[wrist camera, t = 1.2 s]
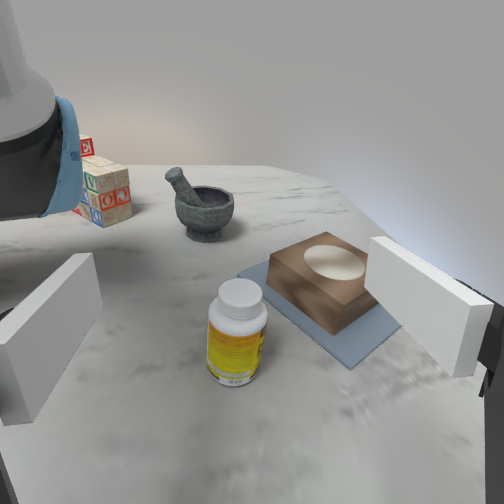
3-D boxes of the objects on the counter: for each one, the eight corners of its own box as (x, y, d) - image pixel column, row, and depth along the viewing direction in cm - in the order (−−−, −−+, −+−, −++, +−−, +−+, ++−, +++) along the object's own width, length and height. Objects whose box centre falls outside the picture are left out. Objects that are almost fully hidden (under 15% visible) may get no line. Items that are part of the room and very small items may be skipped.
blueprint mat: (237, 275, 47) (237, 273, 47) (308, 245, 56) (309, 243, 56) (350, 370, 35) (351, 367, 35) (417, 311, 44) (418, 309, 44)
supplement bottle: (261, 389, 32) (275, 314, 26) (205, 389, 31) (207, 312, 26) (256, 344, 37) (267, 273, 31) (207, 344, 36) (209, 271, 30)
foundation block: (265, 283, 46) (270, 252, 43) (319, 258, 53) (326, 230, 50) (333, 336, 38) (344, 303, 36) (385, 298, 45) (397, 269, 43)
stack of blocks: (133, 217, 59) (126, 149, 52) (103, 229, 54) (91, 157, 48) (66, 183, 68) (53, 122, 61) (35, 191, 64) (17, 126, 57)
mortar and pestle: (220, 218, 62) (224, 155, 55) (240, 242, 55) (247, 175, 49) (161, 225, 57) (157, 158, 51) (175, 253, 50) (172, 180, 44)
